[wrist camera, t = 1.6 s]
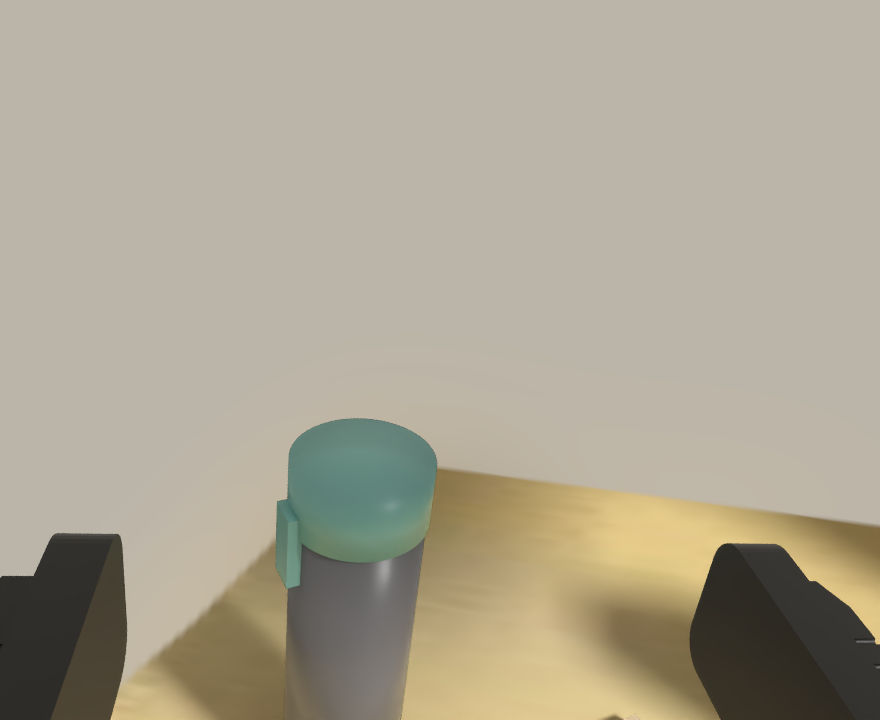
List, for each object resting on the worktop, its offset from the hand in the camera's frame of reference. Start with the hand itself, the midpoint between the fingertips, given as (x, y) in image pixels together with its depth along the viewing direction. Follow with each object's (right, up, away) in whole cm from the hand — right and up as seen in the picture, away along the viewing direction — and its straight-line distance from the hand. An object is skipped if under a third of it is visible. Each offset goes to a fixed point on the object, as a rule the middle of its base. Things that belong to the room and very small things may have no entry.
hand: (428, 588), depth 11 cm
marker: (-3, -11, +18) cm, 22 cm away
